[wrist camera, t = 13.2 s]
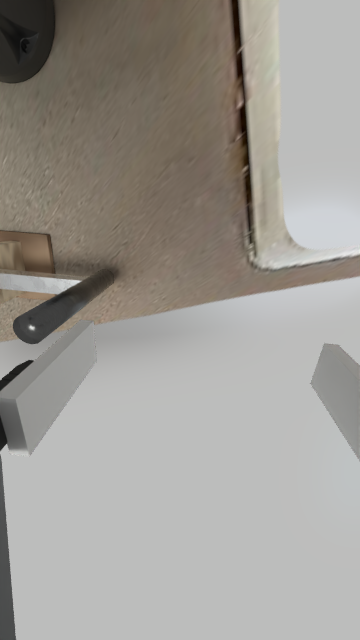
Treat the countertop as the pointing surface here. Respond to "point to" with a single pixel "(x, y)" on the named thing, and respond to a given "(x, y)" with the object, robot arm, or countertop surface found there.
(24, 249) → the bearing stand
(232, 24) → the countertop surface
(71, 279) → the crank handle
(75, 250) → the countertop surface
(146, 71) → the countertop surface
